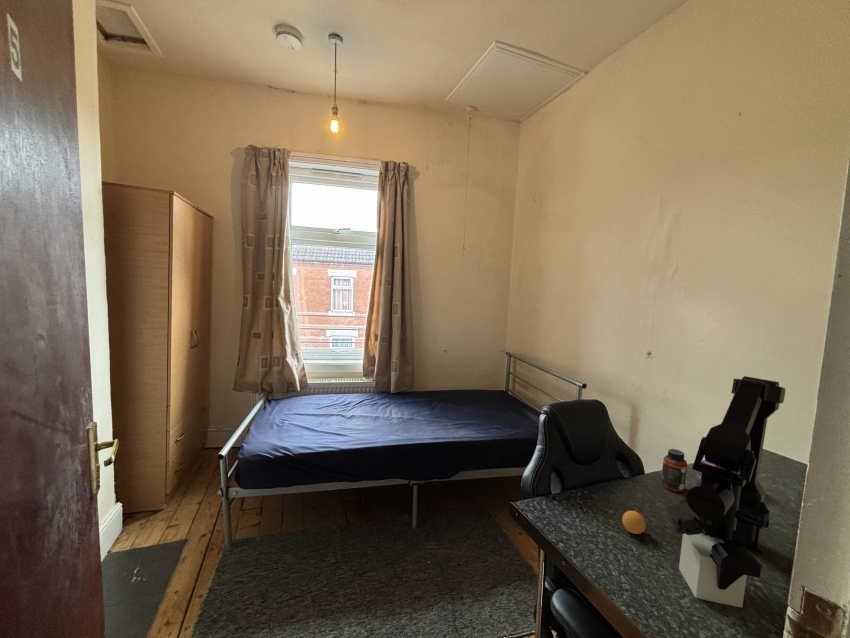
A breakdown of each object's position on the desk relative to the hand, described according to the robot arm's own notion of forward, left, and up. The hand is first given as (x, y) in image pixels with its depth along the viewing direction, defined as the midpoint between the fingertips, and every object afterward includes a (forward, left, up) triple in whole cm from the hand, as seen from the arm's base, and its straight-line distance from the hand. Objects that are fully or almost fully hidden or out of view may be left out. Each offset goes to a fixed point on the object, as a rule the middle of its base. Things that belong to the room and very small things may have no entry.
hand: (710, 572), depth 74 cm
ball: (+10, -14, -1) cm, 17 cm away
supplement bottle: (-8, -40, -3) cm, 41 cm away
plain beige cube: (0, 0, -3) cm, 3 cm away
